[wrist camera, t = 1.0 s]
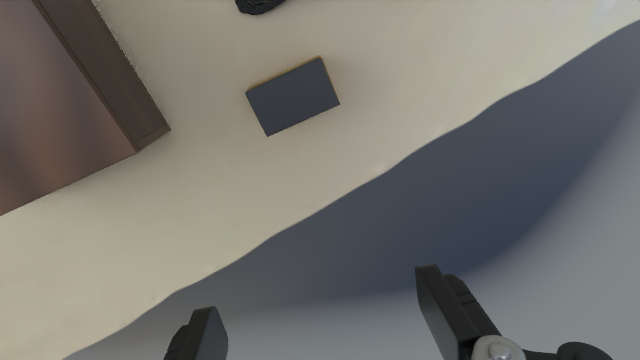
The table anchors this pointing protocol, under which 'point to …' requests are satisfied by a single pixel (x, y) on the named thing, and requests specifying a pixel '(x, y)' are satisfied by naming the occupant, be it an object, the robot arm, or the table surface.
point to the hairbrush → (258, 9)
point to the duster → (292, 96)
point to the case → (107, 68)
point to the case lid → (48, 111)
